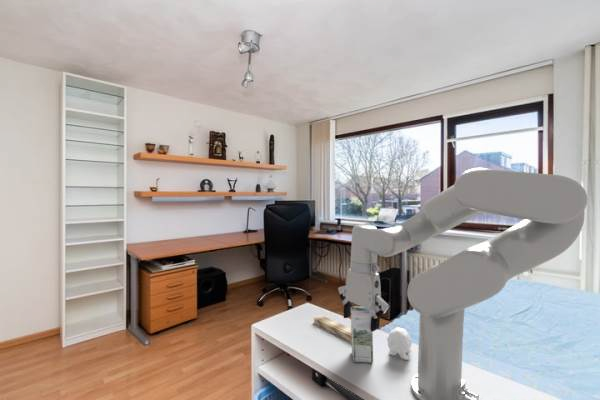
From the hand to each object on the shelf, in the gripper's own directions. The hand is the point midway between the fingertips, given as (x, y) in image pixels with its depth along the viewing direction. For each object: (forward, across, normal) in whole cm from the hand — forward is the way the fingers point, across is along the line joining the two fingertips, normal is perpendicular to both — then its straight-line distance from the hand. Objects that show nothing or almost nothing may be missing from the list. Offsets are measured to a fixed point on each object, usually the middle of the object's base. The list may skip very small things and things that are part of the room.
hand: (360, 323), depth 82 cm
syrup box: (+10, -1, 0) cm, 10 cm away
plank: (+11, +13, -7) cm, 18 cm away
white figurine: (+10, -7, -12) cm, 17 cm away
